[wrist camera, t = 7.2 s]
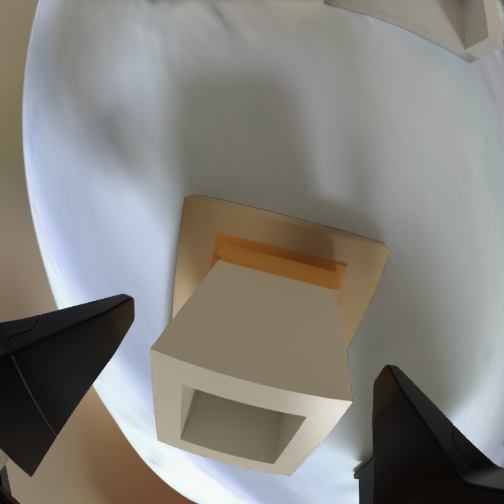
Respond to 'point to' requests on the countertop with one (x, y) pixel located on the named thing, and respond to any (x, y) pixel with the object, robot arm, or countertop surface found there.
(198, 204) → the pin board
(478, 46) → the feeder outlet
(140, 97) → the countertop surface
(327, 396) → the sleeve
